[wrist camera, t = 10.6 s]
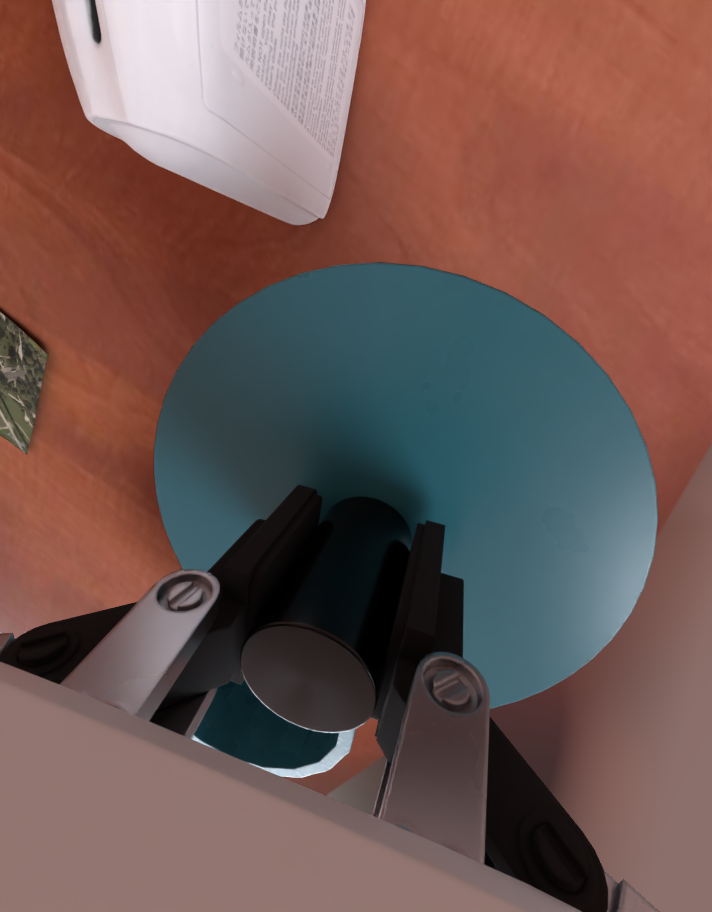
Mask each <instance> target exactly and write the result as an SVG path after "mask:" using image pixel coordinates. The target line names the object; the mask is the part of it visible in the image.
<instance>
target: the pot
mask: <svg viewBox="0 0 712 912" xmlns="http://www.w3.org/2000/svg"><path fill="white" fill-rule="evenodd" d="M180 570H183V568H181V569H180ZM180 570H179V571H180ZM355 730H356V729H353V730H350V731H346V732H340V733H327V732H319V731H314V730H310V729H306V728H303V727H300V726H298V725H295V724H293V723H291V722H289V721H287V720H285V719H283V718H282V717H280V716H278V715H277V714H275V713H274V712H273V711H271V710H270V709H269V708H268V707H266V706H265V705H264V704H263V703H262V702H261V701H260V700H259V699H258V698H257V697H256V696H255V694H254V693H253V692H252V690H251V689H250V687H249V686H248V684H247V683H246V680H245V679H244V681H243V683H242V684H241V685H240V684H237V683H235V682H232V681H229V683H227V684H225V685H222V686H219V687H218V689H217V691H216V694H215V696H214V698H213V700H212V702H211V704H210V706H209V708H208V710H207V711H206V713H205V715H204V717H203V719H202V721H201V723H200V724H199V726H198V728H197V730H196V732H195V734H194V736H193V738H192V740H194V741H197V742H199V743H202V744H204V745H206V746H209V747H211V748H214V749H216V750H218V751H221V752H223V753H225V754H228V755H230V756H233V757H235V758H237V759H240V760H242V761H244V762H247V763H249V764H252V765H254V766H256V767H259V768H261V769H263V770H266V771H268V772H271V773H273V774H275V775H278V776H283V777H297V778H300V777H305V776H309V775H313V774H317V773H320V772H324V771H328V770H330V769H331V768H332V767H333V766H334V765H335V764H337V763H338V762H339V761H340V760H341V759H342V758H343V757H344V756H345V755H347V754H348V753H349V752H350V749H351V746H352V742H353V738H354V734H355Z"/></svg>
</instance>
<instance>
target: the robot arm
mask: <svg viewBox="0 0 712 912" xmlns="http://www.w3.org/2000/svg"><path fill="white" fill-rule="evenodd" d="M321 504H322V496H320V495H317V490H316V489H313V488H309V487H306V486H302V485H297V486H296V487H295V488H294V490H293V491H292V492H291V493H290V494H289V495H288V496H287V497H286V498H285V499H284V501H283V502H282V503H281V504H280V505H279V506H278V507H277V508H276V509H275V511H274V512H273V513H272V514H271V515H270V516H269V517H268V518H267V519H266V520H263V519H257V520H256V521H255V522H254V523H253V524H252V525H251V526H250V527H249V528H248V529H247V530H246V531H245V532H244V533H243V534H242V536H241V537H240V538H239V539H238V540H237V541H236V542H235V543H234V544H233V545H232V546H231V547H230V548H229V549H228V550H227V551H226V552H225V553H224V554H223V556H222V557H221V558H220V559H219V560H218V561H217V562H216V563H215V564H214V565H213V566H212V567H211V568H210V569H209V570H208V571H207V572H206V571H204V570H198V569H185V570H180V571H176V572H172V573H170V574H168V575H166V576H164V577H163V578H161V579H160V580H159V581H158V582H156V583H155V584H154V585H153V586H152V587H151V589H150V590H149V591H148V592H147V593H146V594H145V595H144V596H143V597H142V598H141V599H140V600H139V601H138V602H135V603H131V604H127V605H123V606H119V607H115V608H110V609H106V610H102V611H98V612H94V613H90V614H86V615H82V616H77V617H73V618H69V619H65V620H61V621H57V622H53V623H48V624H45V625H42V626H39V627H36V628H34V629H32V630H30V631H28V632H26V633H24V634H22V635H21V636H19V637H18V638H17V639H14V635H13V633H3V634H0V912H660V911H659V910H657V909H656V908H655V907H654V906H653V905H652V904H651V903H649V902H648V901H647V900H646V899H645V898H644V897H643V896H642V895H641V894H640V893H638V892H637V891H636V890H635V889H634V888H633V887H632V886H631V885H629V884H628V883H627V882H626V881H625V880H624V879H623V880H622V881H621V882H620V883H619V884H618V883H617V882H616V881H615V880H614V879H613V878H612V877H610V876H609V875H608V874H607V873H606V872H605V871H604V869H603V867H602V865H601V863H600V861H599V858H598V856H597V854H596V852H595V850H594V848H593V847H592V845H591V844H590V842H589V841H588V839H587V838H586V836H585V835H584V833H583V832H582V831H581V829H580V828H579V827H578V826H577V824H576V823H575V822H574V821H573V819H572V818H571V817H570V816H569V814H568V813H567V812H566V811H565V809H564V808H563V807H562V806H561V805H560V803H559V802H558V801H557V799H556V798H555V797H554V796H553V795H552V793H551V792H550V791H549V790H548V788H547V787H546V786H545V785H544V783H543V782H542V781H541V780H540V778H539V777H538V776H537V775H536V773H535V772H534V771H533V770H532V768H531V767H530V766H529V765H528V764H527V762H526V761H525V760H524V758H523V757H522V756H521V755H520V753H519V752H518V751H517V750H516V749H515V747H514V746H513V745H512V744H511V743H510V741H509V740H508V739H507V737H506V736H505V735H504V734H503V732H502V731H501V730H500V729H499V727H498V726H497V725H496V724H495V722H494V721H493V720H492V719H491V718H490V695H489V689H488V686H487V684H486V682H485V680H484V678H483V676H482V675H481V674H480V672H479V671H478V670H477V668H475V667H474V666H473V665H472V664H471V663H470V662H468V661H467V660H466V659H464V658H463V616H464V581H463V579H461V578H457V577H454V576H451V575H447V574H444V573H441V567H442V557H443V546H444V536H445V525H443V524H440V523H436V522H432V521H429V520H426V522H425V525H424V524H421V523H418V524H417V527H416V531H415V535H414V538H413V542H412V546H411V550H410V554H409V558H408V562H407V567H406V571H405V576H404V580H403V584H402V589H401V593H400V598H399V602H398V606H397V611H396V615H395V620H394V624H393V628H392V633H391V637H390V642H389V646H388V650H387V655H386V659H385V664H384V676H383V681H382V686H381V690H380V695H379V699H378V704H377V707H376V709H375V712H374V713H373V715H372V716H371V718H374V719H376V720H378V725H377V729H376V734H375V736H376V737H377V739H376V740H377V742H378V744H379V746H380V748H381V749H382V751H383V753H384V755H385V757H386V759H387V762H386V765H385V769H384V772H383V776H382V780H381V784H380V788H379V792H378V796H377V800H376V804H375V807H374V811H373V815H369V814H367V813H365V812H362V811H360V810H358V809H355V808H353V807H351V806H348V805H346V804H344V803H341V802H339V801H337V800H334V799H332V798H329V797H327V796H325V795H323V794H320V793H318V792H316V791H313V790H311V789H309V788H306V787H304V786H301V785H299V784H297V783H294V782H292V781H290V780H287V779H285V778H282V777H280V776H278V775H275V774H273V773H271V772H268V771H266V770H263V769H261V768H259V767H256V766H254V765H252V764H249V763H247V762H244V761H242V760H240V759H237V758H235V757H233V756H230V755H228V754H225V753H223V752H221V751H218V750H216V749H214V748H211V747H209V746H206V745H204V744H202V743H199V742H197V741H194V740H192V738H193V736H194V734H195V732H196V730H197V728H198V726H199V724H200V723H201V721H202V719H203V717H204V715H205V713H206V711H207V710H208V708H209V706H210V704H211V702H212V700H213V698H214V696H215V694H216V691H217V689H218V687H219V686H222V685H225V684H227V683H229V681H232V682H235V683H237V684H240V685H241V684H242V683H243V681H244V679H245V678H244V676H243V673H242V670H241V666H240V652H241V647H242V644H243V642H244V640H245V638H246V637H247V635H248V633H249V632H250V630H251V629H252V627H253V626H254V624H255V623H256V621H257V620H258V618H259V617H260V615H261V613H262V612H263V610H264V609H265V607H266V606H267V604H268V603H269V601H270V600H271V598H272V597H273V595H274V593H275V592H276V590H277V589H278V587H279V586H280V584H281V583H282V581H283V580H284V578H285V577H286V575H287V574H288V572H289V570H290V569H291V567H292V566H293V564H294V563H295V561H296V560H297V558H298V557H299V555H300V554H301V552H302V550H303V549H304V547H305V546H306V544H307V543H308V541H309V540H310V538H311V537H312V535H313V534H314V532H315V531H316V529H317V527H318V526H319V519H320V512H321Z"/></svg>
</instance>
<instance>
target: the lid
mask: <svg viewBox="0 0 712 912" xmlns="http://www.w3.org/2000/svg"><path fill="white" fill-rule="evenodd" d="M154 478H155V486H156V494H157V501H158V505H159V509H160V513H161V517H162V521H163V524H164V527H165V530H166V532H167V535H168V538H169V541H170V543H171V546H172V548H173V550H174V552H175V554H176V556H177V558H178V560H179V562H180V564H181V566H182V568H183V570H185V569H198V570H204V571H206V572H207V571H208V570H209V569H210V568H211V567H212V566H213V565H214V564H215V563H216V562H217V561H218V560H219V559H220V558H221V557H222V556H223V554H224V553H225V552H226V551H227V550H228V549H229V548H230V547H231V546H232V545H233V544H234V543H235V542H236V541H237V540H238V539H239V538H240V537H241V536H242V534H243V533H244V532H245V531H246V530H247V529H248V528H249V527H250V526H251V525H252V524H253V523H254V522H255V521H256V520H257V519H263V520H266V519H267V518H268V517H269V516H270V515H271V514H272V513H273V512H274V511H275V509H276V508H277V507H278V506H279V505H280V504H281V503H282V502H283V501H284V499H285V498H286V497H287V496H288V495H289V494H290V493H291V492H292V491H293V490H294V488H295V487H296V486H297V485H302V486H306V487H309V488H313V489H316V490H317V495H320V496H322V504H321V512H320V519H319V526H318V527H317V529H316V531H315V532H314V534H313V535H312V537H311V538H310V540H309V541H308V543H307V544H306V546H305V547H304V549H303V550H302V552H301V554H300V555H299V557H298V558H297V560H296V561H295V563H294V564H293V566H292V567H291V569H290V570H289V572H288V574H287V575H286V577H285V578H284V580H283V581H282V583H281V584H280V586H279V587H278V589H277V590H276V592H275V593H274V595H273V597H272V598H271V600H270V601H269V603H268V604H267V606H266V607H265V609H264V610H263V612H262V613H261V615H260V617H259V618H258V620H257V621H256V623H255V624H254V626H253V627H252V629H251V630H250V632H249V633H248V635H247V637H246V638H245V640H244V642H243V644H242V647H241V652H240V666H241V670H242V673H243V676H244V678H245V680H246V683H247V684H248V686H249V687H250V689H251V690H252V692H253V693H254V694H255V696H256V697H257V698H258V699H259V700H260V701H261V702H262V703H263V704H264V705H265V706H266V707H268V708H269V709H270V710H271V711H273V712H274V713H275V714H277V715H278V716H280V717H282V718H283V719H285V720H287V721H289V722H291V723H293V724H295V725H298V726H300V727H303V728H306V729H310V730H314V731H319V732H327V733H340V732H346V731H350V730H353V729H356V728H358V727H360V726H361V725H363V724H364V723H366V722H367V721H368V720H369V719H370V718H371V716H372V715H373V713H374V712H375V709H376V707H377V704H378V699H379V695H380V690H381V686H382V681H383V676H384V664H385V659H386V655H387V650H388V646H389V642H390V637H391V633H392V628H393V624H394V620H395V615H396V611H397V606H398V602H399V598H400V593H401V589H402V584H403V580H404V576H405V571H406V567H407V562H408V558H409V554H410V550H411V546H412V542H413V538H414V535H415V531H416V527H417V524H418V523H421V524H424V525H425V522H426V520H429V521H432V522H436V523H440V524H443V525H445V536H444V546H443V557H442V567H441V573H444V574H447V575H451V576H454V577H457V578H461V579H463V581H464V616H463V658H464V659H466V660H467V661H468V662H470V663H471V664H472V665H473V666H474V667H475V668H477V670H478V671H479V672H480V674H481V675H482V676H483V678H484V680H485V682H486V684H487V686H488V689H489V695H490V708H494V707H498V706H501V705H505V704H509V703H512V702H516V701H519V700H522V699H524V698H527V697H529V696H532V695H534V694H537V693H539V692H542V691H544V690H546V689H547V688H549V687H551V686H553V685H555V684H556V683H558V682H560V681H562V680H564V679H566V678H567V677H569V676H570V675H572V674H573V673H574V672H576V671H577V670H578V669H580V668H581V667H582V666H584V665H585V664H586V663H588V662H589V661H590V660H592V659H593V658H594V657H595V656H596V655H597V654H598V653H599V652H600V651H601V650H602V649H603V648H604V647H605V646H606V645H607V644H608V643H609V642H610V641H611V640H612V639H613V637H614V636H615V635H616V633H617V632H618V631H619V629H620V628H621V627H622V625H623V624H624V622H625V621H626V620H627V618H628V617H629V615H630V614H631V612H632V610H633V608H634V606H635V604H636V602H637V600H638V598H639V596H640V594H641V592H642V590H643V588H644V586H645V583H646V580H647V577H648V573H649V570H650V566H651V563H652V560H653V556H654V551H655V542H656V534H657V525H658V510H657V494H656V482H655V478H654V474H653V470H652V466H651V462H650V458H649V454H648V449H647V446H646V444H645V441H644V439H643V437H642V434H641V432H640V430H639V428H638V425H637V423H636V421H635V418H634V416H633V414H632V412H631V409H630V408H629V406H628V405H627V403H626V402H625V400H624V399H623V397H622V396H621V394H620V393H619V391H618V389H617V388H616V386H615V385H614V383H613V382H612V380H611V379H610V377H609V376H608V374H607V373H606V372H605V371H604V370H603V369H602V368H601V367H600V366H599V364H598V363H597V362H596V361H595V360H594V359H593V358H592V357H591V356H590V355H589V353H588V352H587V351H586V350H585V349H584V348H583V347H582V346H581V345H580V344H579V343H578V342H577V341H576V340H575V339H573V338H572V337H571V336H570V335H568V334H567V333H566V332H565V331H564V330H562V329H561V328H560V327H559V326H557V325H556V324H555V323H554V322H552V321H551V320H550V319H549V318H547V317H546V316H545V315H543V314H542V313H540V312H538V311H537V310H535V309H533V308H531V307H530V306H528V305H526V304H525V303H523V302H521V301H519V300H518V299H516V298H514V297H513V296H511V295H509V294H508V293H506V292H503V291H501V290H498V289H496V288H493V287H491V286H488V285H486V284H483V283H481V282H478V281H476V280H473V279H471V278H468V277H466V276H462V275H458V274H454V273H450V272H446V271H442V270H437V269H433V268H429V267H425V266H418V265H407V264H395V263H384V262H374V263H358V264H342V265H336V266H331V267H326V268H322V269H317V270H312V271H308V272H303V273H300V274H297V275H295V276H292V277H289V278H287V279H284V280H282V281H279V282H276V283H274V284H271V285H269V286H267V287H265V288H263V289H261V290H260V291H258V292H256V293H255V294H253V295H251V296H249V297H248V298H246V299H244V300H242V301H241V302H239V303H237V304H236V305H235V306H234V307H233V308H231V309H230V310H229V311H228V312H226V313H225V314H224V315H223V316H221V317H220V318H219V319H218V320H216V321H215V322H214V323H213V324H212V325H211V326H210V327H209V328H208V330H207V331H206V332H205V333H204V334H203V335H202V336H201V337H200V338H199V340H198V341H197V342H196V343H195V344H194V345H193V346H192V348H191V349H190V351H189V352H188V354H187V355H186V357H185V359H184V360H183V362H182V363H181V365H180V366H179V368H178V369H177V371H176V373H175V375H174V377H173V380H172V382H171V384H170V386H169V389H168V391H167V393H166V395H165V398H164V402H163V405H162V409H161V412H160V416H159V419H158V423H157V431H156V438H155V446H154Z"/></svg>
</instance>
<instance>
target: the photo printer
mask: <svg viewBox="0 0 712 912" xmlns="http://www.w3.org/2000/svg"><path fill="white" fill-rule="evenodd" d="M52 3H53V7H54V12H55V16H56V21H57V25H58V29H59V34H60V38H61V41H62V45H63V49H64V52H65V56H66V60H67V63H68V66H69V70H70V73H71V76H72V79H73V82H74V85H75V88H76V91H77V94H78V97H79V101H80V103H81V106H82V109H83V111H84V114H85V116H86V118H87V119H88V120H89V121H90V122H91V123H92V124H93V125H95V126H96V127H98V128H99V129H101V130H103V131H105V132H107V133H109V134H111V135H113V136H115V137H117V138H119V139H121V140H123V141H124V142H126V143H127V144H128V145H129V146H130V147H131V148H132V149H133V150H134V151H136V152H137V153H139V154H140V155H141V156H143V157H144V158H146V159H147V160H149V161H150V162H152V163H154V164H156V165H158V166H160V167H162V168H165V169H167V170H169V171H172V172H174V173H176V174H178V175H180V176H183V177H185V178H187V179H189V180H192V181H194V182H196V183H198V184H201V185H203V186H205V187H207V188H209V189H212V190H214V191H216V192H218V193H221V194H223V195H225V196H227V197H230V198H232V199H234V200H236V201H239V202H241V203H243V204H245V205H247V206H250V207H252V208H254V209H257V210H259V211H261V212H263V213H266V214H268V215H270V216H272V217H275V218H277V219H279V220H282V221H284V222H286V223H289V224H293V225H305V224H309V223H311V222H313V221H315V220H317V219H318V218H321V219H323V218H324V217H325V215H326V214H327V211H328V208H329V205H330V202H331V198H332V195H333V191H334V187H335V182H336V178H337V172H338V168H339V162H340V158H341V152H342V146H343V141H344V136H345V130H346V124H347V119H348V113H349V107H350V101H351V96H352V90H353V84H354V78H355V72H356V66H357V60H358V53H359V48H360V43H361V35H362V28H363V21H364V14H365V6H366V0H52Z"/></svg>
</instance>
